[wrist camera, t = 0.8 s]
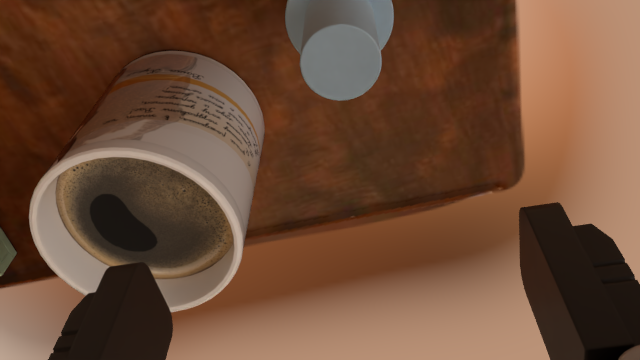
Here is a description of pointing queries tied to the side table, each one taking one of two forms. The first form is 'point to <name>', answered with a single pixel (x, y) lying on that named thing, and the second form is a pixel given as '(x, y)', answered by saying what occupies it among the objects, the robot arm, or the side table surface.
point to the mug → (155, 180)
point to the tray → (5, 252)
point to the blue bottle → (339, 43)
